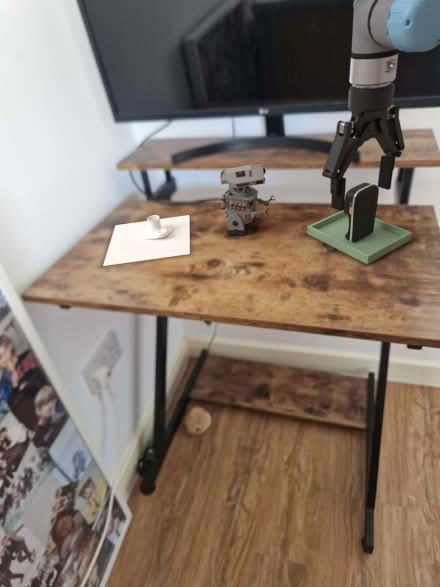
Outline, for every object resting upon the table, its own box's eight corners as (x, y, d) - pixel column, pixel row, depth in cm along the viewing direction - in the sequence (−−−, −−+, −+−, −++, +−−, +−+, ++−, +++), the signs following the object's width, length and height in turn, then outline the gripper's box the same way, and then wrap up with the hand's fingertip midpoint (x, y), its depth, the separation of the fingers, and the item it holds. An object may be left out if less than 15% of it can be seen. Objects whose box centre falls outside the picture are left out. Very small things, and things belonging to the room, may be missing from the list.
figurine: (268, 237, 93) (265, 174, 84) (221, 235, 96) (213, 174, 87) (275, 218, 100) (273, 158, 91) (231, 217, 103) (224, 159, 94)
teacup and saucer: (172, 239, 98) (168, 224, 95) (139, 244, 98) (135, 229, 95) (173, 222, 105) (170, 208, 102) (142, 227, 105) (139, 212, 102)
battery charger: (360, 226, 91) (365, 178, 84) (374, 232, 88) (381, 182, 81) (339, 238, 88) (342, 188, 81) (353, 244, 86) (357, 194, 79)
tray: (410, 240, 85) (412, 232, 84) (367, 264, 80) (368, 256, 79) (348, 214, 97) (349, 207, 96) (307, 233, 92) (307, 226, 91)
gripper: (336, 102, 63) (330, 224, 75) (437, 70, 72) (417, 184, 85) (302, 97, 68) (302, 212, 81) (401, 68, 77) (387, 175, 90)
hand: (361, 198), depth 83 cm, fingers open, 13 cm apart
